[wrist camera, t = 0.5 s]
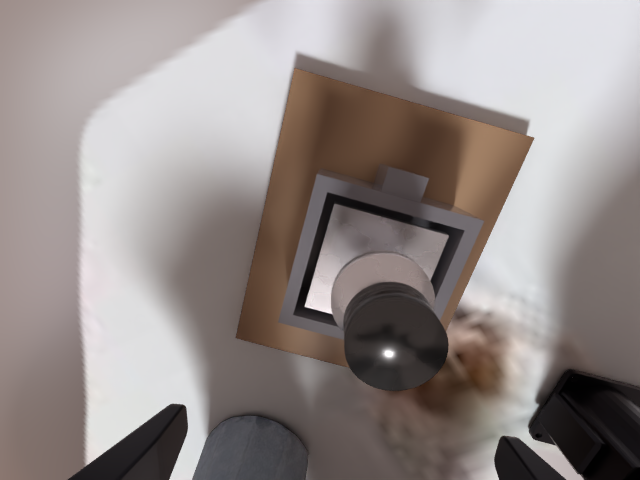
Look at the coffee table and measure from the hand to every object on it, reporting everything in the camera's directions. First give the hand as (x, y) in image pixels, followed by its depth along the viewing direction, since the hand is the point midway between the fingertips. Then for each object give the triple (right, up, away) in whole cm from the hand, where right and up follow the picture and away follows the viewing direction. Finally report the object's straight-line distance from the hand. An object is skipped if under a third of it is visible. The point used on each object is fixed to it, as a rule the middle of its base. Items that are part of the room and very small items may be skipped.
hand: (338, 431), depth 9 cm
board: (+3, +5, +12) cm, 13 cm away
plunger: (+2, +4, +8) cm, 9 cm away
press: (+2, +5, +11) cm, 12 cm away
